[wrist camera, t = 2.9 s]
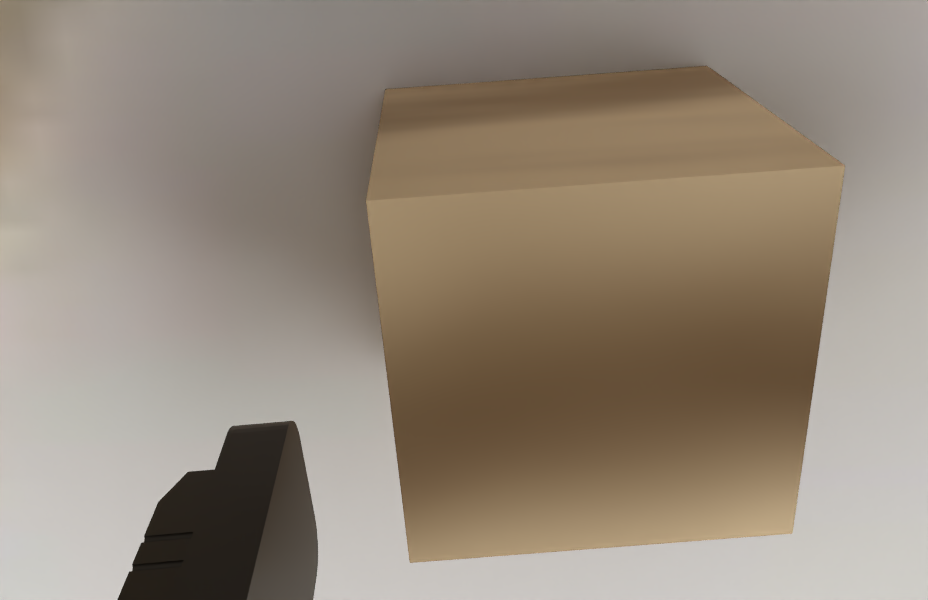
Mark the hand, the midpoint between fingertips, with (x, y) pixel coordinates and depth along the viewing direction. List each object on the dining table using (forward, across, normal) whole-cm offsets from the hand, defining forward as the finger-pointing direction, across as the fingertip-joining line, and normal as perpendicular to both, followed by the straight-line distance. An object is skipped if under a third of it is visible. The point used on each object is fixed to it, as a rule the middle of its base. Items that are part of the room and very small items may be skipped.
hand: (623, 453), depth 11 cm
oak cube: (+6, 0, -1) cm, 6 cm away
